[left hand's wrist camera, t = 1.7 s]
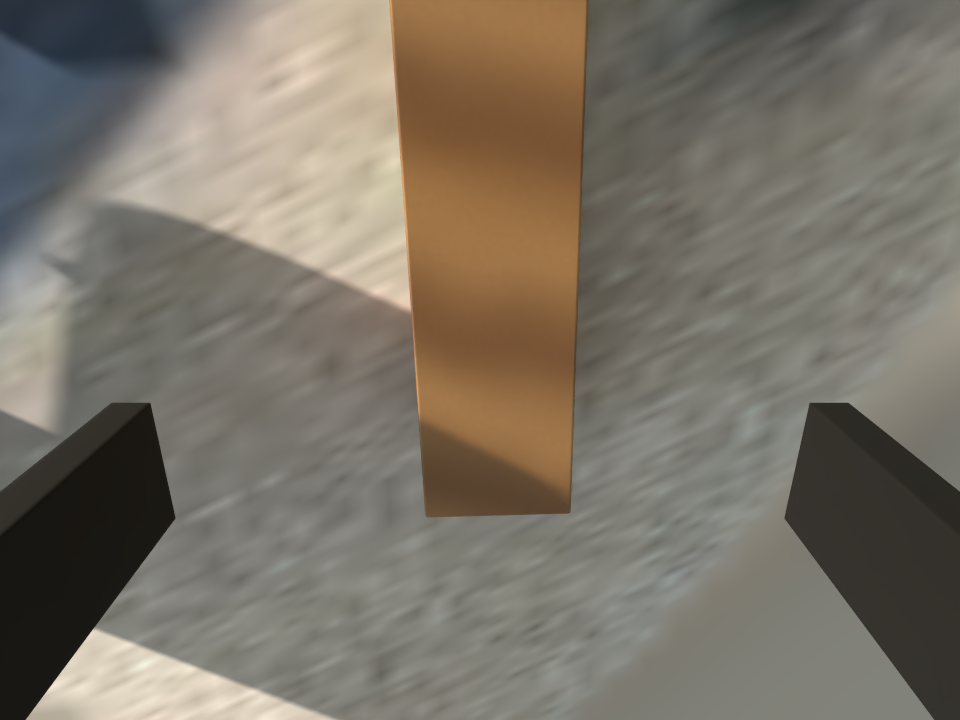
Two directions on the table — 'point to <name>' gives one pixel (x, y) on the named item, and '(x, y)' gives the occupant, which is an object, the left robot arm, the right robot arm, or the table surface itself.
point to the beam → (493, 244)
